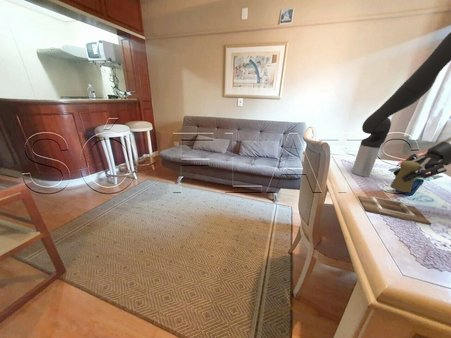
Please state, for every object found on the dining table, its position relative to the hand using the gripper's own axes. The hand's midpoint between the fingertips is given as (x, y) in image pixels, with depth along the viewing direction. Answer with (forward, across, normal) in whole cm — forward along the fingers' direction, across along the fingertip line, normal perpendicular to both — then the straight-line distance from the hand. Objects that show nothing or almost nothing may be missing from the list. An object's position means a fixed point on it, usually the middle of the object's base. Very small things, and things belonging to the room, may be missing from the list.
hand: (399, 177), depth 70 cm
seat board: (+9, 0, +11) cm, 15 cm away
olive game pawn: (+2, 0, +5) cm, 5 cm away
